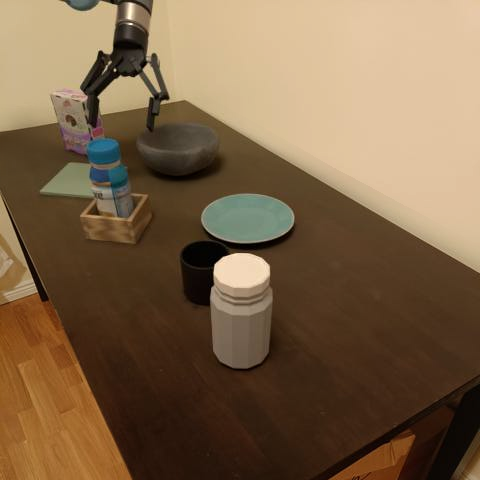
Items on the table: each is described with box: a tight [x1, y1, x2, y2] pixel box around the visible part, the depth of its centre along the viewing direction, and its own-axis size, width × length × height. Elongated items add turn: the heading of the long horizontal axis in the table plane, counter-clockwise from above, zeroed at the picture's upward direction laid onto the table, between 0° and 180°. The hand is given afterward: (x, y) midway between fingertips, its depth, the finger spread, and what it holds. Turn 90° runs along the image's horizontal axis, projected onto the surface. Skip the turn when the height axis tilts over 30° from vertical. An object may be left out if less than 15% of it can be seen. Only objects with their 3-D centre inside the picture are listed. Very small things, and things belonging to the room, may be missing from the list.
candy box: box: [49, 88, 107, 157], centre depth 128 cm, size 14×6×16 cm, turn 58°
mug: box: [179, 239, 231, 306], centre depth 84 cm, size 9×12×9 cm
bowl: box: [135, 122, 220, 177], centre depth 122 cm, size 23×22×10 cm
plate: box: [200, 193, 295, 245], centre depth 102 cm, size 22×22×3 cm
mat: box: [39, 161, 129, 200], centre depth 119 cm, size 18×18×1 cm
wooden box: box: [79, 192, 153, 245], centre depth 101 cm, size 12×12×6 cm
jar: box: [210, 252, 274, 370], centre depth 68 cm, size 10×10×18 cm
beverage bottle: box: [86, 138, 134, 219], centre depth 96 cm, size 8×8×20 cm
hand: (120, 127), depth 96 cm, fingers open, 13 cm apart
